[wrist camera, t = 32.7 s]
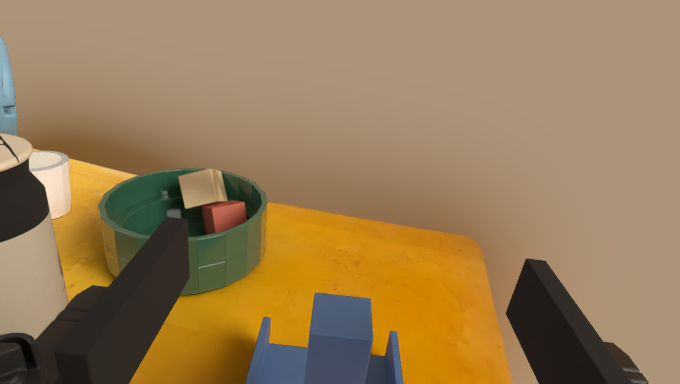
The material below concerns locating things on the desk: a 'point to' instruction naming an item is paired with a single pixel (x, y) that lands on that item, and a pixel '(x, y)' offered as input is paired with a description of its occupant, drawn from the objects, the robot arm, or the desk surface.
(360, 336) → the scoop
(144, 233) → the green pet bowl
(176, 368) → the desk surface
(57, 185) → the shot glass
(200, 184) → the maple block
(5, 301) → the travel mug
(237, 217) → the brick block
